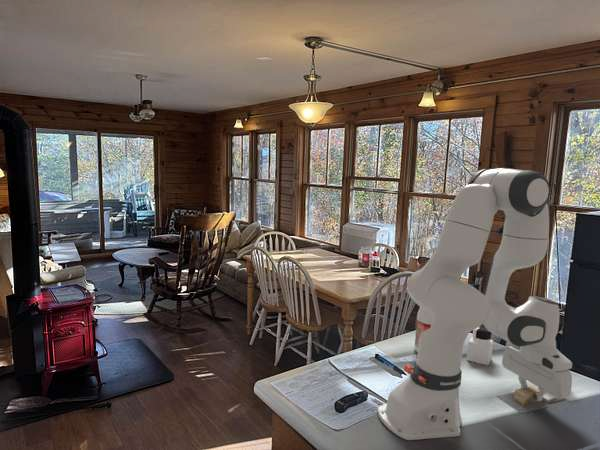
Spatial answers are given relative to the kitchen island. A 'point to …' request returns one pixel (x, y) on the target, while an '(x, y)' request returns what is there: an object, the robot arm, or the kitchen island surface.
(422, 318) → the fruit juice
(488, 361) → the medicine bottle
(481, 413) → the kitchen island surface
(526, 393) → the putty knife
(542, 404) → the mat
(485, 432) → the kitchen island surface
